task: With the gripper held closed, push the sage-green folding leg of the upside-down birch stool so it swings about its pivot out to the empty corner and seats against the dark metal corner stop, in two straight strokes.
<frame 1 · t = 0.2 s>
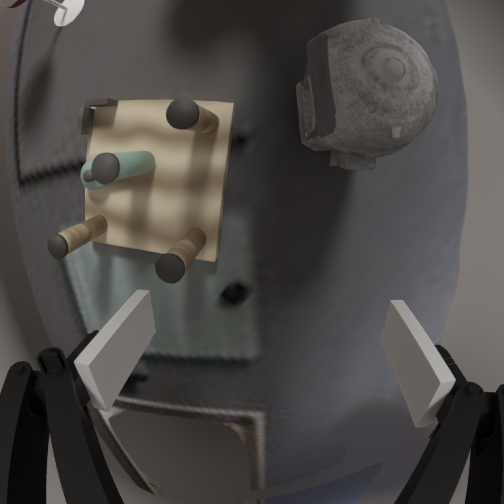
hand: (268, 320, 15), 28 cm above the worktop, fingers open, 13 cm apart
figurine: (331, 113, 36), on the worktop
wineglass: (69, 10, 31), on the worktop
folding leg: (99, 171, 33), point 8 cm above the worktop, hinge at 0.0°
stool: (153, 175, 41), on the worktop
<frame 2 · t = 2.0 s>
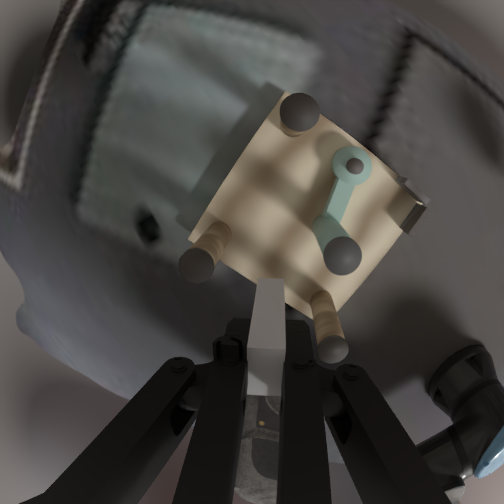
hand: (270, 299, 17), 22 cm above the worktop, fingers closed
figurine: (275, 372, 47), on the worktop
folding leg: (348, 201, 28), point 8 cm above the worktop, hinge at 0.0°
stool: (308, 213, 38), on the worktop
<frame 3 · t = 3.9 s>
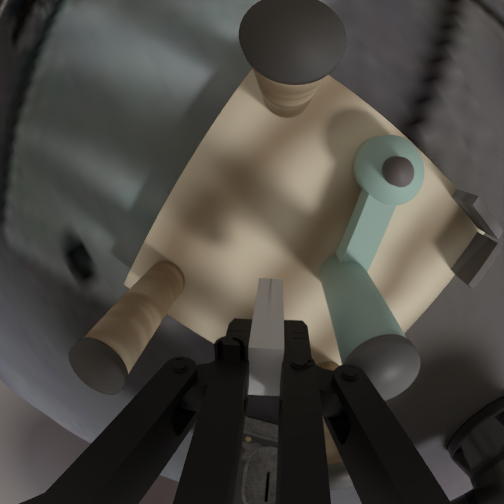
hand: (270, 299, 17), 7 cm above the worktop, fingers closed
figurine: (261, 440, 33), on the worktop
folding leg: (391, 242, 14), point 8 cm above the worktop, hinge at 1.3°, touching gripper
stool: (310, 246, 23), on the worktop
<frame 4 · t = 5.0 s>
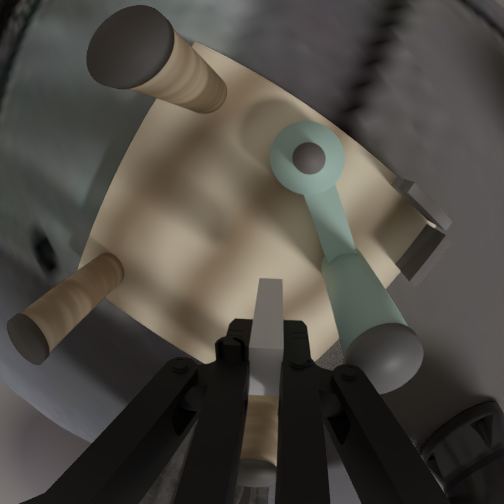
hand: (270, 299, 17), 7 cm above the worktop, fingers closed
figurine: (219, 434, 33), on the worktop
folding leg: (339, 232, 14), point 8 cm above the worktop, hinge at 41.6°, touching gripper
stool: (242, 239, 24), on the worktop
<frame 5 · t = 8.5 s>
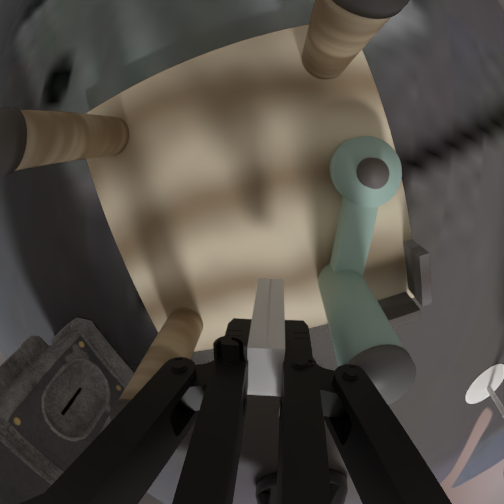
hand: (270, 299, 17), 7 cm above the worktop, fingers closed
figurine: (93, 357, 30), on the worktop
wineglass: (485, 384, 28), on the worktop
folding leg: (375, 249, 14), point 8 cm above the worktop, hinge at 50.9°, touching gripper
stool: (250, 195, 22), on the worktop
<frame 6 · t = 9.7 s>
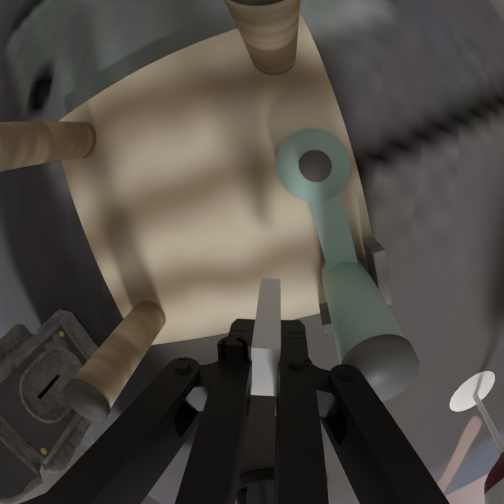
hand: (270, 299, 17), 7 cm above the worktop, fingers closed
figurine: (75, 348, 31), on the worktop
wineglass: (472, 391, 27), on the worktop
folding leg: (341, 241, 14), point 8 cm above the worktop, hinge at 76.9°, touching gripper
stool: (208, 192, 23), on the worktop
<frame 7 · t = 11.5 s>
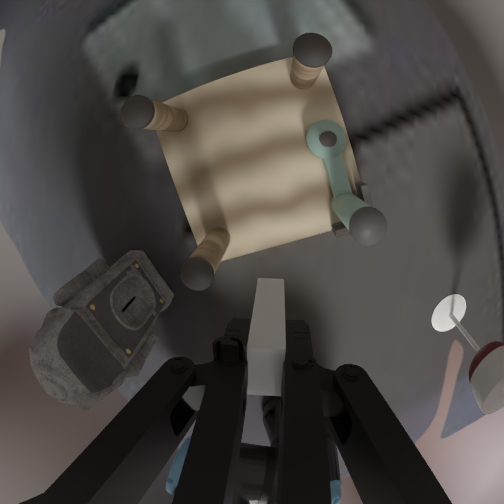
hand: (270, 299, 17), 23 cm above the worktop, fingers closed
figurine: (139, 284, 44), on the worktop
wineglass: (448, 312, 42), on the worktop
folding leg: (343, 173, 28), point 8 cm above the worktop, hinge at 76.2°
stool: (260, 157, 36), on the worktop
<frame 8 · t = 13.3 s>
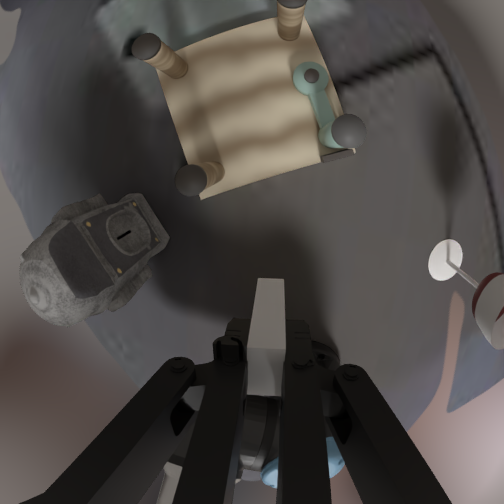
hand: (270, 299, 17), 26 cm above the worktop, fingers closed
figurine: (135, 229, 45), on the worktop
wineglass: (445, 260, 42), on the worktop
folding leg: (326, 99, 29), point 8 cm above the worktop, hinge at 76.2°
stool: (252, 100, 37), on the worktop
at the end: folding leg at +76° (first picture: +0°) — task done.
